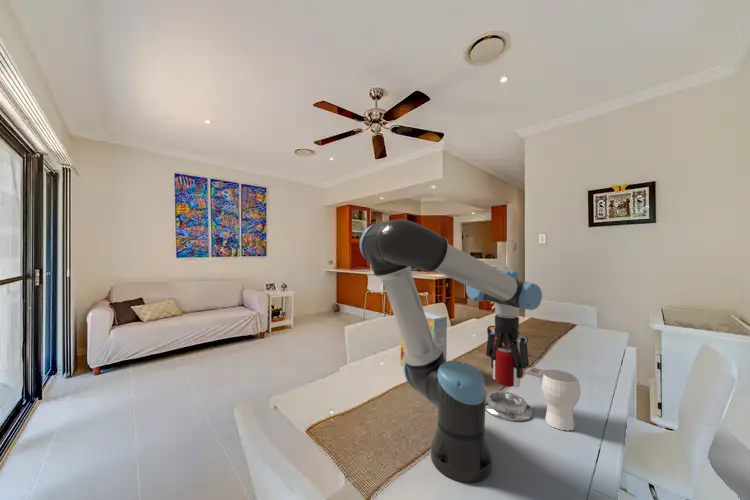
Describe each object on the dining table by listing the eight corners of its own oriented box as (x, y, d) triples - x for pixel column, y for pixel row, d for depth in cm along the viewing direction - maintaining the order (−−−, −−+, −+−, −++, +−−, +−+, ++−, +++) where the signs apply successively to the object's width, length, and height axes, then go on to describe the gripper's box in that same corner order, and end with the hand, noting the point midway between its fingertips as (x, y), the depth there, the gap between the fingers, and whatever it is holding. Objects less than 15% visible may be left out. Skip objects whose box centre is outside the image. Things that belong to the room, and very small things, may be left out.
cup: (581, 438, 84) (581, 386, 84) (539, 426, 90) (539, 377, 90) (579, 420, 93) (579, 373, 93) (540, 410, 99) (541, 366, 99)
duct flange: (540, 423, 91) (540, 415, 91) (487, 419, 94) (487, 410, 94) (522, 398, 107) (522, 390, 107) (477, 394, 109) (477, 387, 109)
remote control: (523, 368, 135) (523, 362, 135) (563, 378, 125) (563, 371, 125) (519, 373, 130) (519, 366, 130) (560, 384, 120) (560, 376, 120)
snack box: (448, 376, 125) (448, 316, 125) (433, 381, 120) (434, 319, 120) (412, 360, 142) (413, 307, 142) (399, 364, 137) (399, 310, 137)
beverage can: (521, 387, 98) (522, 351, 98) (503, 389, 96) (503, 352, 96) (508, 378, 104) (509, 345, 104) (491, 380, 103) (491, 346, 103)
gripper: (542, 319, 94) (541, 390, 94) (487, 309, 110) (487, 369, 110) (530, 323, 90) (529, 397, 90) (475, 311, 106) (474, 374, 106)
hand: (506, 382), depth 100 cm, fingers closed on beverage can, 7 cm apart
